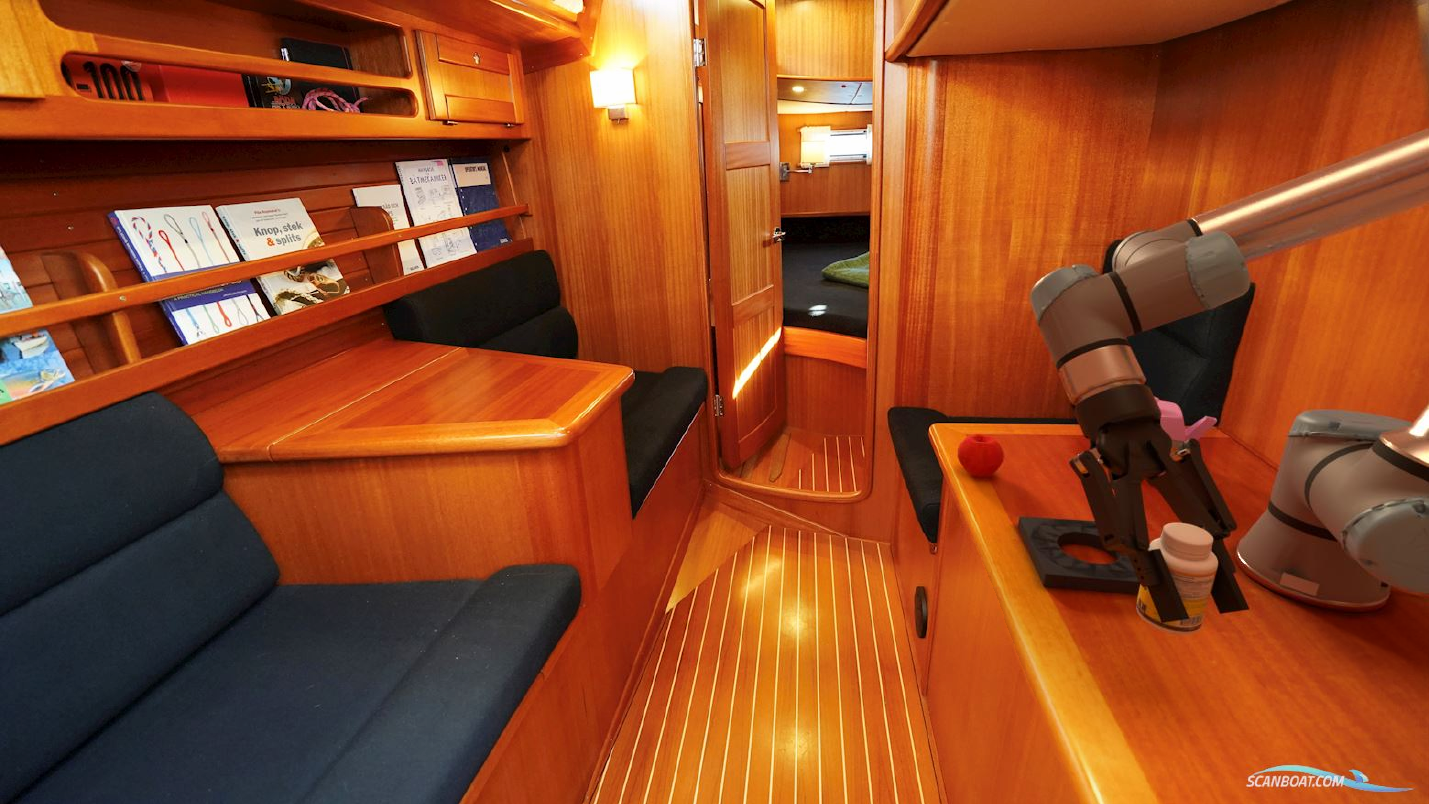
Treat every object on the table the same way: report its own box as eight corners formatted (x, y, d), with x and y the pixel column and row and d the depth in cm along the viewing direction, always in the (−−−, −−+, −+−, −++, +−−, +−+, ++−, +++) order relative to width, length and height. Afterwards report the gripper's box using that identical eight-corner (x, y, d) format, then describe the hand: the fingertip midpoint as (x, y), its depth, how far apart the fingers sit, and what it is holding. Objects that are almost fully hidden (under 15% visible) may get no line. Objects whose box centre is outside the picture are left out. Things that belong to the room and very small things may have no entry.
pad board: (1124, 534, 96) (1126, 522, 96) (1168, 597, 83) (1172, 584, 82) (1017, 527, 100) (1019, 516, 99) (1043, 586, 86) (1045, 574, 85)
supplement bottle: (1143, 594, 69) (1162, 511, 65) (1206, 618, 65) (1230, 531, 61) (1126, 619, 65) (1146, 533, 62) (1192, 646, 61) (1217, 556, 58)
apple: (949, 464, 120) (952, 428, 118) (991, 463, 120) (996, 427, 117) (962, 484, 113) (966, 446, 110) (1008, 483, 113) (1013, 445, 110)
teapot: (1076, 465, 118) (1087, 401, 113) (1076, 440, 128) (1086, 380, 124) (1209, 486, 109) (1227, 417, 104) (1198, 457, 119) (1214, 393, 115)
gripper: (1161, 402, 74) (1258, 607, 65) (1013, 418, 72) (1091, 633, 63) (1211, 372, 68) (1327, 597, 58) (1049, 389, 65) (1143, 626, 56)
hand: (1205, 615), depth 60 cm, fingers closed on supplement bottle, 6 cm apart
